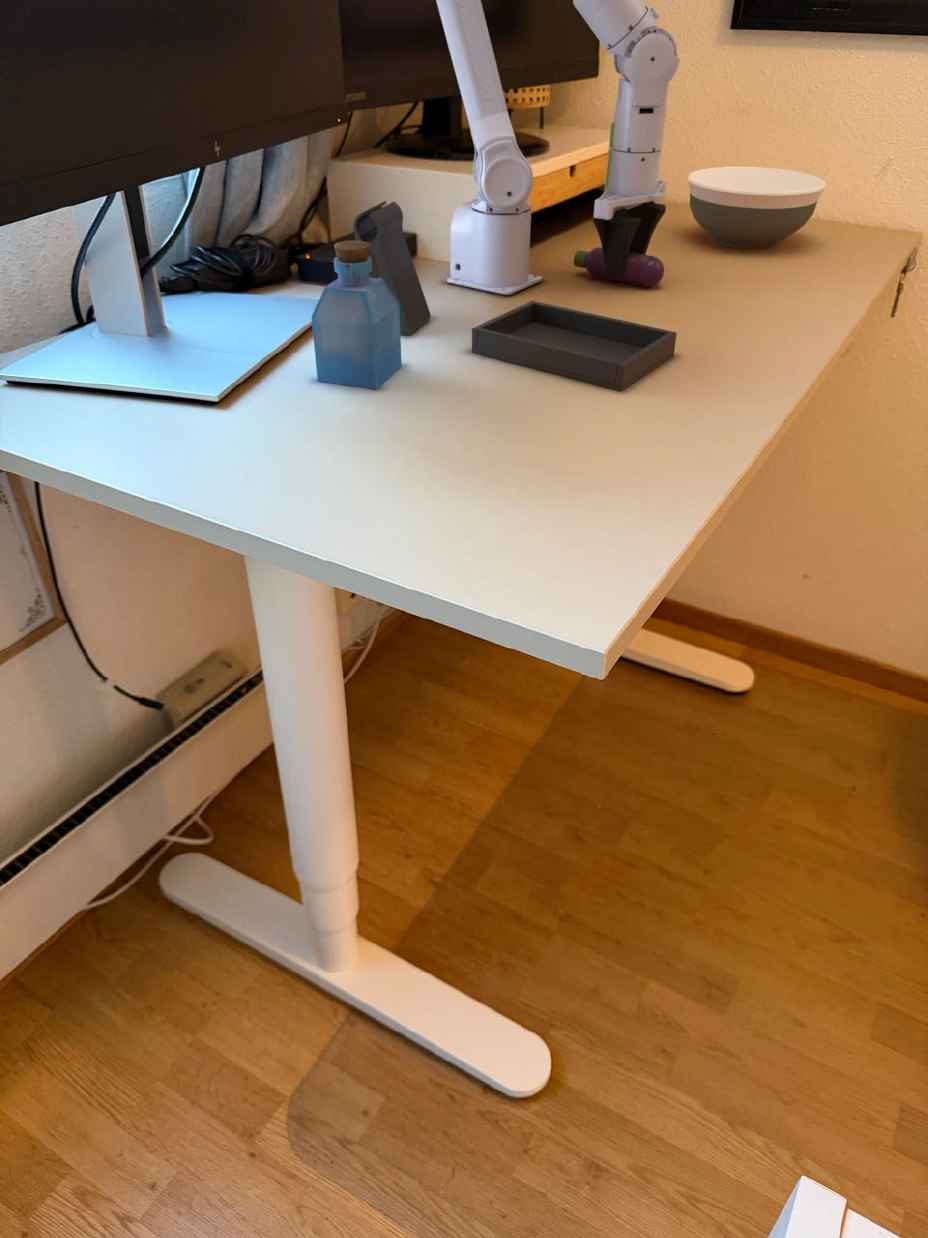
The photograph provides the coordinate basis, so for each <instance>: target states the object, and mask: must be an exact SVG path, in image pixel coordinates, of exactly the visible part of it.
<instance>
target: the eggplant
mask: <svg viewBox="0 0 928 1238" xmlns="http://www.w3.org/2000/svg"><path fill="white" fill-rule="evenodd" d="M573 265H574V266H575V267H576V268H581V269H586V271H587V273H588V274H589V275H590V276H591V277H594V278H597V279H603V280H607V281H612V282H619V283H623V284H628V285H633V286H638V287H643V288H653V287H655V286H657V285H658V284H659V283H660V282H661V281H662V279H663V278H664V275H665V266H664V264H663V262H662V260H661V259H660V258H658V257H657V256H654V255H648V254H645V255H644V254H638V253H632V252H629V254H628V259H627V264H626V268H625V271H624V274H623V275H622V276H615V275H609V274H606V270H605V263H604V256H603V249H602V246H598V247H597V246H596V247H595V248H592V249H591V250H589V251H587V250H586V251H585V250H581V249H579V250H577V251H576V252H575V254H574V257H573Z"/></svg>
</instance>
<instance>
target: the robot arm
mask: <svg viewBox="0 0 928 1238" xmlns="http://www.w3.org/2000/svg"><path fill="white" fill-rule="evenodd" d="M435 2H436V5H437V10H438V13H439V17H440V21H441V24H442V25H441V26H442V28H443V32H444V36H445V39H446V43H447V47H448V51H449V54H450V58H451V62H452V65H453V70H454V73H455V76H456V81H457V84H458V88H459V90H460V95H461V99H462V103H463V107H464V110H465V113H466V118H467V121H468V126H469V130H470V136H471V139H472V144H473V147H474V156H473V163H472V173H473V177H474V180H475V182H476V184H477V186H478V191H477V193H476V194H475V196H474V197H473V198H472V199H471V200H470V201H471V202H470V201H469V202H468V201H465V202H463V203H461V204H459V206H457V208H456V209H455V211H454V213H453V215H452V218H451V222H450V228H449V229H450V230H449V240H450V241H449V246H450V247H449V248H450V249H449V250H450V251H449V253H450V254H449V256H450V257H449V259H450V260H449V264H450V267H449V268H450V269H449V270H450V273H449V274H450V275H449V277H446V282H447V283H449V284H452V285H453V284H454V285H458V286H462V287H467V288H472V289H476V290H481V291H485V292H490V293H494V294H498V295H503V296H504V295H505V296H510V295H513V294H515V293H517V292H519V291H522V290H524V289H527V288H529V287H531V286H533V285H535V284H538V283H540V282H542V281H543V277H542V276H541V275H535V274H531V273H530V253H531V252H530V251H531V230H532V229H531V227H532V207H533V206H532V205H533V204H532V201H530V200H529V197H530V195H531V194H532V192H533V187H534V182H535V181H534V180H535V177H534V172H533V168H532V165H531V164H530V162H529V161H528V160H527V158H526V157H525V156H524V154H523V152H522V150H521V149H520V148H519V147H520V146H518V142H517V139H516V138H517V137H516V135H515V131H514V128H513V125H512V121H511V119H510V115H509V112H508V111H509V110H508V107H507V103H506V98H505V95H504V90H503V87H502V82H501V78H500V74H499V70H498V67H497V66H498V65H497V61H496V58H495V54H494V50H493V45H492V42H491V37H490V32H489V29H488V25H487V20H486V16H485V11H484V9H483V4H482V0H435ZM572 3H573V6H574V7H575V9H576V11H578V13H579V14H580V15H581V17H582V18H583V20H584V21H585V23H586V24H587V25H588V27H589V28H590V30H591V31H592V32H593V34H594V35H595V37H596V38H597V39H598V41H599V42H600V44H601V45H602V46H603V48H604V50H605V52H607V53H608V54H610V55H613V66H614V69H615V72H616V73H617V74H620V75H621V77H619V78H618V86H617V87H618V88H617V89H618V90H617V100H616V102H615V111H614V121H613V122H614V131H613V142H612V151H611V163H610V174H609V185H608V188H607V189H606V191H605V190H604V191H605V192H604V191H603V193H602V195H601V196H600V197H598V198H596V199H594V206H593V207H594V209H593V213H592V222H593V224H594V226H595V228H596V231H597V233H598V234H597V235H598V236H599V240H600V244H601V247H602V249H603V256H604V263H605V270H606V274H609V275H615V276H622V275H623V274H624V271H625V268H626V264H627V259H628V254H629V252H632V253H638V254H644V255H647V250H648V248H649V245H650V242H651V239H652V237H653V234H654V232H655V231H656V228H657V226H658V224H659V223H660V220H661V219H662V217H663V216H664V215H665V214H666V210H667V209H666V208H667V205H665V204H663V203H658V202H662V201H664V200H665V199H666V188H667V181H664V180H659V172H660V164H661V157H662V149H663V142H664V141H663V140H664V133H665V132H664V131H665V123H666V117H667V109H668V108H667V106H668V105H667V100H668V92H669V91H668V90H669V83H670V82H671V81H672V80H673V78H674V77H675V75H676V73H677V71H678V69H679V65H680V60H681V59H680V57H678V53H677V50H678V47H677V44H676V41H675V39H674V38H673V36H672V35H671V34H670V33H669V31H667V30H665V29H664V28H661V27H659V26H657V25H656V24H657V23H656V22H657V20H658V19H659V18H660V15H661V14H660V13H659V12H658V10H657V9H656V7H651V8H650V6H648V4H647V2H646V1H645V0H572Z"/></svg>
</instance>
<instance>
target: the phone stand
mask: <svg viewBox="0 0 928 1238" xmlns="http://www.w3.org/2000/svg"><path fill="white" fill-rule="evenodd" d="M403 223H404V213H403V210H402V208H401V206H400V205H399V204H398V203H397V202H395V201H391V202H390V203H387V201H386V200H384V201H382V202H380V203H378V204H376V205H375V206H372V207H370V208H368V209H366V210H364V211H362V212H360V213H358V214H357V215H356V217H355V218H354V220H353V232H354V241H363V242H367V243H368V244H369V250H368V256H369V257H371V259H372V271H371V272H369V278H377V279H379V278H380V279H383V280H384V282H385V283H386V285H387V286H388V288H389V289H390V291H391V292H392V294H393V295H394V297H395V298H396V300H397V301H398V303H399V312H400V336H410V335H412V334H413V333H414V332H415V331H416V330H417V329H418V328H420V327H421V326H423V325H424V324H425V323H426V322H427V321H428V320H430V319H431V317H432V315H431V312H430V309H429V306H428V303H427V300H426V297H425V294H424V290H423V288H422V285H421V282H420V279H419V276H418V273H417V270H416V267H415V264H414V262H413V259H412V255H411V252H410V250H409V247H408V243H407V242H406V237H405V235H404V229H403V227H404V226H403ZM379 276H380V277H379Z"/></svg>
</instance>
